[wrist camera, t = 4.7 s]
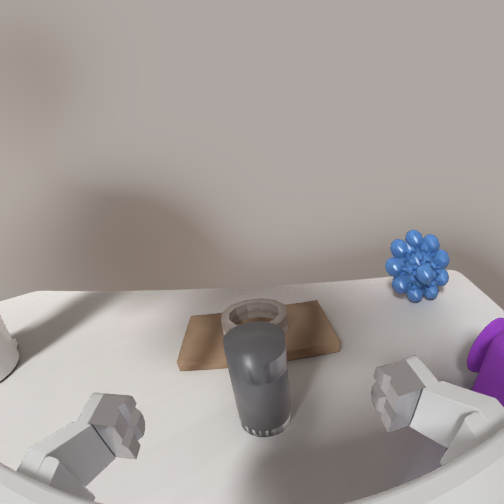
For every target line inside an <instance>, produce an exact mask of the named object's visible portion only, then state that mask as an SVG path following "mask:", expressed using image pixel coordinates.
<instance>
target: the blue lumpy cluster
mask: <svg viewBox="0 0 504 504" xmlns="http://www.w3.org/2000/svg"><path fill="white" fill-rule="evenodd" d="M405 240H406V242H405V241H403V240H400V239H396V240H394V241H393V242H392V244H391V248H390V249H391V252H392V254H393V256H394V257H395V258H394V257H391V258H389V259H388V260H387V262H386V265H385V268H386V271H387V272H388V274H389V275H390V276H394V278H393V281H392V286H393V289H394V290H395V291H396V292H397V293H400V294H403V293H406V292H407V297H408V299H409V300H410V301H412V302H419V301H420V300H421V299H422V298H423V294H424V296H425V297H426V298H428V299H434V298H435V297H436V296H437V295H438V292H439V290H438V286H444V285H446V284H447V282H448V280H449V276H448V272H447V271H446V270H445V269H443V268H446V267H447V266H448V264H449V256H448V254H447V252H446V251H444V250H441V249H439V246H440V244H439V241H438V238H437V237H436V236H434V235H431V234H428V235H426V236H425V237H424V239H423V238H422V235H421V233H419V232H418V231H416V230H411V231H409V232H407V235H406V238H405ZM437 285H438V286H437Z"/></svg>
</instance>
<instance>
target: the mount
mask: <svg viewBox="0 0 504 504" xmlns="http://www.w3.org/2000/svg"><path fill="white" fill-rule="evenodd" d="M255 321H264V322H270V323H274V324H276V325H278V326H280V327H281V328H282V329H283V330H284V333H285V343H286V356H287V361H288V360H295V359H301V358H307V357H312V356H318V355H323V354H329V353H334V352H339V351H340V340H339V339H338V337H337V335H336V333H335V331H334V330H333V328H332V326H331V324H330V322H329V321H328V319H327V317H326V315H325V314H324V312H323V310H322V308H321V306H320V305H319V303H318V301H317V300H316V301H309V302H303V303H296V304H289V305H283V304H281V303H279V302H277V301H275V300H269V299H253V300H245V301H242V302H239V303H237V304H234V305H231V306H230V307H229V308H227V309H226V310H225V311H224V312H223V313H217V314H208V315H197V316H191V317H190V320H189V324H188V327H187V330H186V333H185V337H184V340H183V343H182V347H181V350H180V353H179V357H178V360H177V363H178V366H179V369H180V371H190V370H207V369H220V368H228V365H227V360H226V355H225V351H224V346H223V337H224V335H225V334H226V333H227V332H228V331H229V330H230V329H232V328H234V327H235V326H238V325H240V324H244V323H248V322H255Z"/></svg>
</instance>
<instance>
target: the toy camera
mask: <svg viewBox="0 0 504 504" xmlns="http://www.w3.org/2000/svg"><path fill="white" fill-rule="evenodd" d="M467 367H468V369H469V370H470V371H472V372H479V374H478V376H477V379H476V381H475V384H474V386H473V388H472V391H474V392H477V393H481V394H484V395H487V396H490V397H493V398H496V399H497V400H498V401H499V403H500V404H501V405H502V406H503V407H504V318H497V319H495V320H493V321H492V322H491V323H489V324H488V325H487V326H486V327H485V328H484V329H483V331H482V332H481V333H480V334H479V336H478V337H477V339H476V340H475V342H474V344H473V345H472V347H471V349H470V352H469V354H468V358H467Z"/></svg>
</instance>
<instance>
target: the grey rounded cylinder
mask: <svg viewBox="0 0 504 504" xmlns="http://www.w3.org/2000/svg"><path fill="white" fill-rule="evenodd" d="M223 346H224V351H225V355H226V360H227V365H228V369H229V374H230V378H231V382H232V387H233V391H234V395H235V400H236V404H237V408H238V412H239V416H240V420H241V424H242V427H243V428H244V430H245V431H246V432H248V433H249V434H251V435H254V436H258V437H270V436H274V435H277V434H279V433H281V432H282V431H283V430H285V429H286V428H287V426H288V425H289V423H290V419H291V415H290V399H289V384H288V370H287V356H286V343H285V333H284V330H283V329H282V328H281V327H280V326H278V325H276V324H274V323H270V322H264V321H255V322H248V323H244V324H240V325H238V326H235V327H234V328H232V329H230V330H229V331H228V332H227V333H226V334H225V335H224V337H223Z"/></svg>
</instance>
